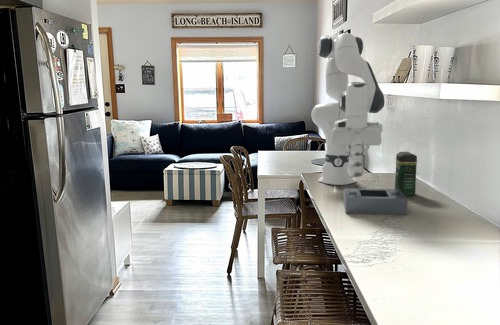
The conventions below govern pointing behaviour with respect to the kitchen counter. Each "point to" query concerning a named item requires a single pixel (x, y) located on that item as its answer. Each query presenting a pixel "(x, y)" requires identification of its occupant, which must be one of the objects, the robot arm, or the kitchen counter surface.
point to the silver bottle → (355, 156)
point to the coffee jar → (406, 173)
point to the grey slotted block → (375, 201)
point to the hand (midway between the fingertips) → (355, 155)
